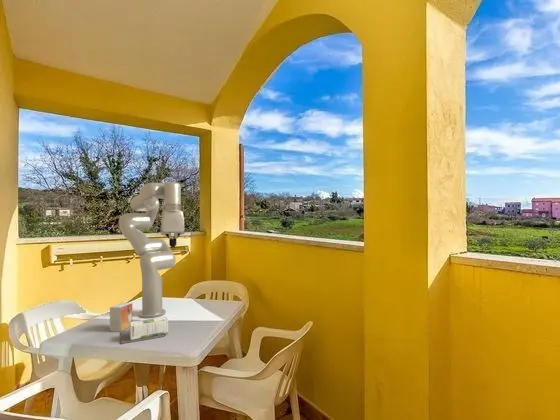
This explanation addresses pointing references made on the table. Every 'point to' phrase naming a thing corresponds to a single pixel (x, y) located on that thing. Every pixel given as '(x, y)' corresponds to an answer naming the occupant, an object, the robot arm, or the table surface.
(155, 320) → the syrup box
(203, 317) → the table surface
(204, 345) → the table surface
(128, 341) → the mat
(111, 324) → the small box
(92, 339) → the table surface
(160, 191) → the robot arm
